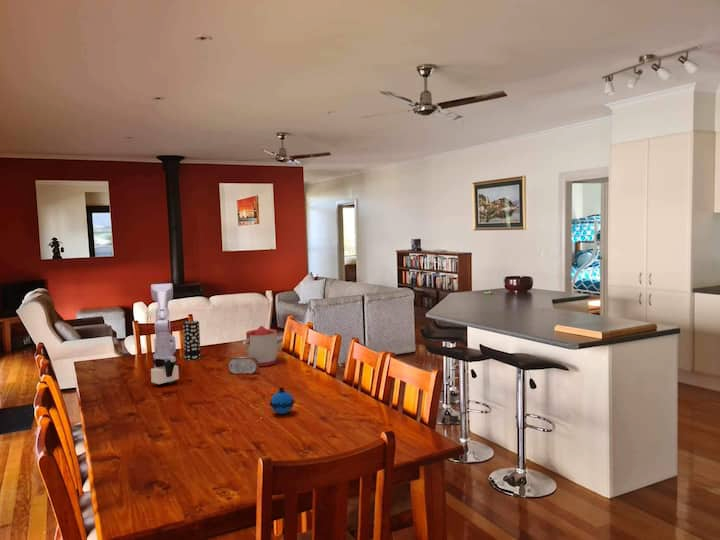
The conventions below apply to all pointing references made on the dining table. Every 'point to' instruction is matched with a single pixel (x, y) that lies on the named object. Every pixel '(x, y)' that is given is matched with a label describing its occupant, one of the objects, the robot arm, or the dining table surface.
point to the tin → (243, 365)
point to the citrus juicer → (262, 345)
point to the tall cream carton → (163, 375)
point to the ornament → (282, 402)
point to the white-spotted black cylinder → (191, 340)
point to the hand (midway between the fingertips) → (165, 375)
